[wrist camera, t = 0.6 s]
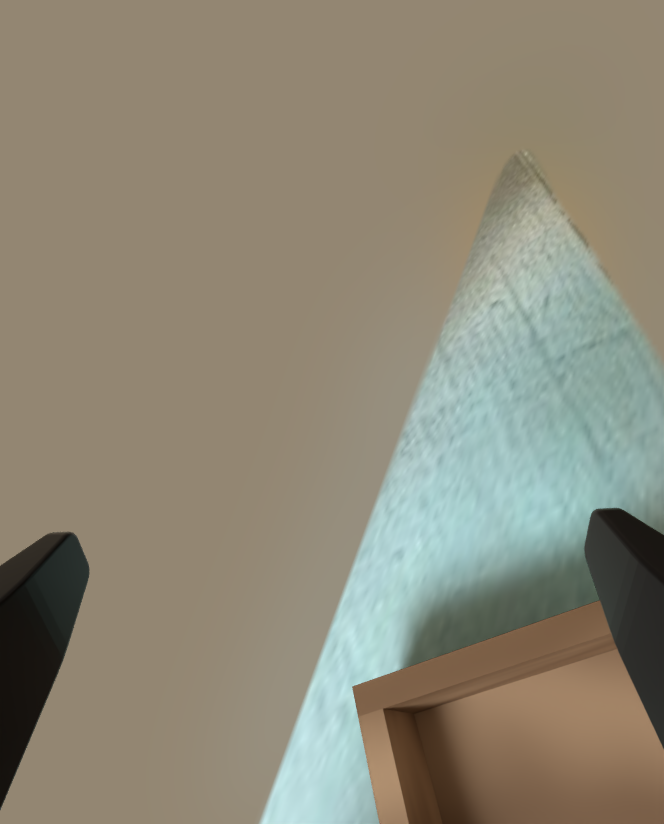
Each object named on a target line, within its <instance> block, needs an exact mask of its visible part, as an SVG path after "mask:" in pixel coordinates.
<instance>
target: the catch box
mask: <svg viewBox="0 0 664 824" xmlns="http://www.w3.org/2000/svg"><path fill="white" fill-rule="evenodd" d="M352 688H353V693H354V698H355V703H356V708H357V713H358V718H359V723H360V728H361V733H362V738H363V743H364V748H365V753H366V758H367V763H368V768H369V773H370V778H371V783H372V788H373V793H374V798H375V803H376V808H377V813H378V818H379V823H380V824H664V749H663V747H662V745H661V742H660V740H659V738H658V736H657V734H656V732H655V730H654V727H653V725H652V723H651V721H650V719H649V717H648V715H647V712H646V710H645V708H644V706H643V704H642V702H641V700H640V697H639V695H638V693H637V691H636V689H635V687H634V685H633V682H632V680H631V678H630V676H629V674H628V672H627V669H626V667H625V665H624V663H623V661H622V659H621V656H620V654H619V652H618V650H617V647H616V645H615V643H614V640H613V637H612V634H611V632H610V629H609V626H608V623H607V620H606V617H605V614H604V611H603V608H602V605H601V602H600V600H599V601H596V602H593V603H590V604H588V605H585V606H582V607H579V608H576V609H573V610H570V611H568V612H565V613H562V614H559V615H556V616H553V617H550V618H547V619H545V620H542V621H539V622H536V623H533V624H530V625H527V626H525V627H522V628H519V629H516V630H513V631H510V632H507V633H505V634H502V635H499V636H496V637H493V638H490V639H487V640H484V641H482V642H479V643H476V644H473V645H470V646H467V647H464V648H462V649H459V650H456V651H453V652H450V653H447V654H444V655H441V656H439V657H436V658H433V659H430V660H427V661H424V662H421V663H419V664H416V665H413V666H410V667H407V668H404V669H401V670H399V671H396V672H393V673H390V674H387V675H384V676H381V677H378V678H376V679H373V680H370V681H367V682H364V683H361V684H358V685H356V686H353V687H352Z"/></svg>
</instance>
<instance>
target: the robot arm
mask: <svg viewBox="0 0 664 824" xmlns="http://www.w3.org/2000/svg"><path fill="white" fill-rule="evenodd" d="M584 550H585V557H586V561H587V564H588V567H589V570H590V573H591V576H592V579H593V582H594V585H595V588H596V590H597V593H598V596H599V599H600V602H601V605H602V608H603V611H604V614H605V617H606V620H607V623H608V626H609V629H610V632H611V634H612V637H613V640H614V643H615V645H616V647H617V650H618V652H619V654H620V656H621V659H622V661H623V663H624V665H625V667H626V669H627V672H628V674H629V676H630V678H631V680H632V682H633V685H634V687H635V689H636V691H637V693H638V695H639V697H640V700H641V702H642V704H643V706H644V708H645V710H646V712H647V715H648V717H649V719H650V721H651V723H652V725H653V727H654V730H655V732H656V734H657V736H658V738H659V740H660V742H661V745H662V747H663V749H664V535H663V534H661V533H659V532H658V531H656V530H654V529H653V528H651V527H650V526H648V525H646V524H645V523H643V522H642V521H640V520H638V519H637V518H635V517H634V516H632V515H630V514H629V513H627V512H626V511H624V510H622V509H619V508H603V509H596V510H594V511H593V512H592V514H591V517H590V522H589V526H588V531H587V536H586V541H585V547H584ZM88 578H89V565H88V562H87V559H86V557H85V555H84V552H83V550H82V547H81V545H80V543H79V540H78V538H77V536H76V535H75V534H74V533H72V532H53V533H49V534H47V535H45V536H44V537H42V538H41V539H39V540H38V541H36V542H35V543H33V544H32V545H30V546H29V547H27V548H26V549H25V550H23V551H21V552H20V553H18V554H17V555H16V556H14V557H12V558H11V559H9V560H8V561H6V562H5V563H4V564H2V565H1V566H0V810H1V807H2V805H3V802H4V800H5V798H6V795H7V793H8V791H9V788H10V786H11V784H12V781H13V779H14V776H15V774H16V772H17V769H18V767H19V765H20V762H21V760H22V757H23V755H24V753H25V750H26V748H27V746H28V743H29V741H30V738H31V736H32V734H33V731H34V729H35V727H36V724H37V722H38V719H39V717H40V715H41V712H42V710H43V708H44V705H45V703H46V700H47V698H48V696H49V693H50V691H51V689H52V686H53V684H54V681H55V679H56V677H57V674H58V672H59V669H60V667H61V664H62V662H63V659H64V656H65V653H66V650H67V647H68V644H69V641H70V638H71V634H72V631H73V628H74V624H75V621H76V618H77V615H78V612H79V608H80V605H81V602H82V598H83V595H84V592H85V589H86V585H87V582H88Z"/></svg>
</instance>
